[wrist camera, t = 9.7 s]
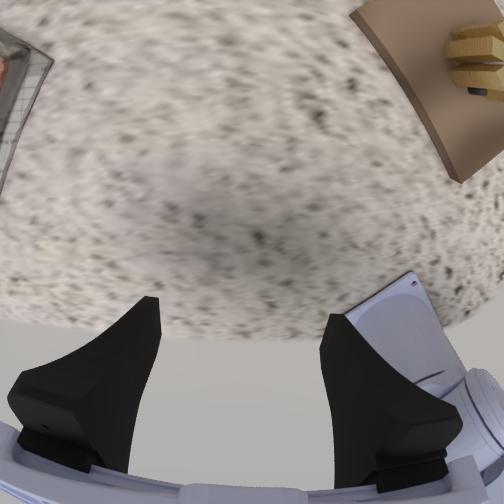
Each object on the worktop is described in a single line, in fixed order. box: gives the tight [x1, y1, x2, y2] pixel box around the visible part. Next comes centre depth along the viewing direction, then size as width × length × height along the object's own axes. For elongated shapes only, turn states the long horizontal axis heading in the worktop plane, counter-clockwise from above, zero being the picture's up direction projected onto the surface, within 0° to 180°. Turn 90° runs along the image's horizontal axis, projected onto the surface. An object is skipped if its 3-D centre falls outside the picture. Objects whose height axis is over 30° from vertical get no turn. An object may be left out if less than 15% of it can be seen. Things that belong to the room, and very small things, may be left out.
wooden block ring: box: [444, 20, 504, 102], centre depth 12 cm, size 5×5×5 cm
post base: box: [350, 0, 504, 184], centre depth 13 cm, size 13×11×5 cm
